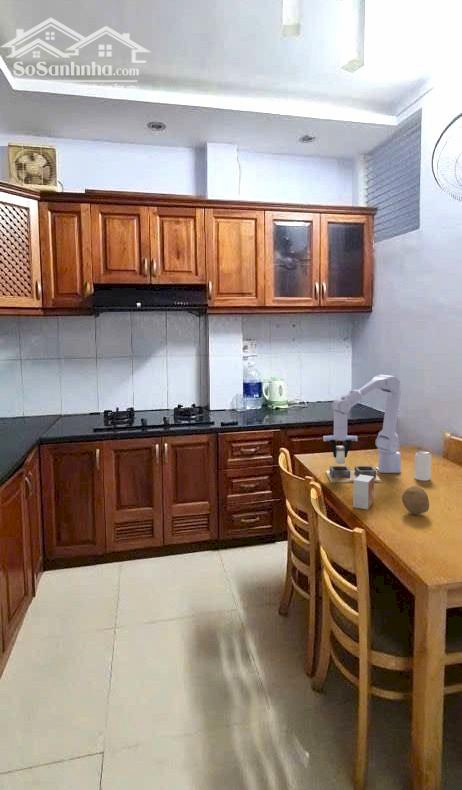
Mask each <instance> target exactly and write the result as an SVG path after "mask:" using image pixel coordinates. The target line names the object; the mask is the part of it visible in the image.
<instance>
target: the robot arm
mask: <svg viewBox="0 0 462 790" xmlns="http://www.w3.org/2000/svg"><path fill="white" fill-rule="evenodd" d="M400 385H401V380H400V379H399V378H398V377H397V376H395V375H388V374H387V375H386V374H379V373H378V374H377V375H375V376H374V377H372V379H371V380H370V381H368V382H367V383H365V384H364V385H363V386H362V387H360V388H359V389H350V390H349V392H348V393H346V394H345V395H342V396H341V397H340V398H336V399H334V400H333V401H332V404H331V405H330V406H331V407H330V408H331V409H332V411H333V434H332V435H331V434H330V435H323V437H322V440H323V442H329V444H330V447H331V450H332V453H333V454H332V457H333V458H336V446H337V442H343V443H344V445H343V446H344V447H345V458H347V457H348V454H349V453H348V452H349V450H350V448H351V446H352V444H353V442H358V436H357V435H348V413H349V412H350V410H351V408H353V406H355V405H358V403H360V402H361V401H362V399H363V397H365V396H366V395H368V394H369V393H370V394H371V393H372V392H373V391H375V390H377V389H379V390H381V391H382V392H384V394H385V395H386V402H385V410H384V416H383V424H382V429H381V430H380V431H379V432H378V435H377V437H376V438H375V446H376V448H377V450H378V462H377V463H378V466H376V467H375V470H377V471H378V472H379V473H382V474H383V473H386V474H387V473H388V474H389V473H390V474H391V473H396V474H399V473H400V474H401V473H402V469H401V468H402V455H401V452H400V451H398V450H399V448H400V442H399V440H400V439H399V435H398V433H397V432H396V429H397V428H396V427H397V422H398V421H397V420H398V413H399V407H400V399H401V388H400Z"/></svg>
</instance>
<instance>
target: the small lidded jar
mask: <svg viewBox="0 0 462 790" xmlns="http://www.w3.org/2000/svg"><path fill="white" fill-rule="evenodd" d="M334 460H335V461H334V462H335V464H339V465H342V464H345V462H346V461H345V460H346V459H345V447H344V445H336V458H335V459H334Z"/></svg>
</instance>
